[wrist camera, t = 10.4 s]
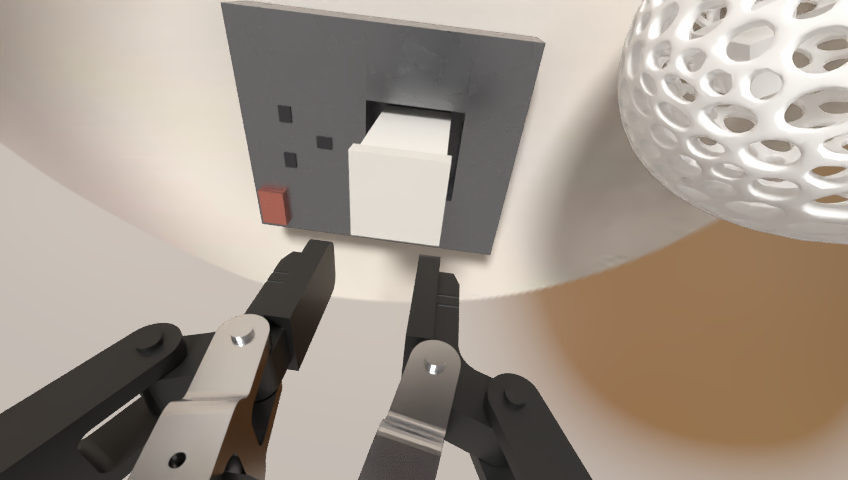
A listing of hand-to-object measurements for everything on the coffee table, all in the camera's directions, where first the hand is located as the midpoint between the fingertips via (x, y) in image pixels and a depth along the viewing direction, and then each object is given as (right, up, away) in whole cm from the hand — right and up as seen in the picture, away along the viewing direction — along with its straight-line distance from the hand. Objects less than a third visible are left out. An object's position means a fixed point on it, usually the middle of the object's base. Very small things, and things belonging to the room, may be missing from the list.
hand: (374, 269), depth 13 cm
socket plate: (-1, +8, +11) cm, 13 cm away
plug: (+1, +7, +10) cm, 13 cm away
